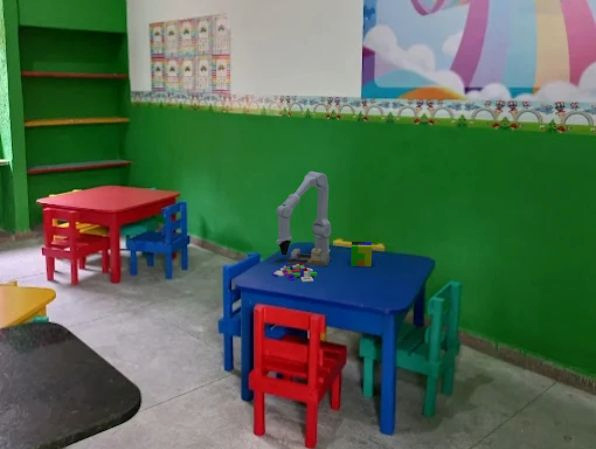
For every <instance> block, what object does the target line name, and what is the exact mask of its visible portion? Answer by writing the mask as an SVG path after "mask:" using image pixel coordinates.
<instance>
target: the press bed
mask: <svg viewBox="0 0 596 449" xmlns="http://www.w3.org/2000/svg"><path fill="white" fill-rule="evenodd" d="M331 258H332V257H331V256H330V252H329V251H326V250H323V252H322V253H321V254H320V261H311V254H306V253H303V254H301V253H300V257H299V258H298V259H291V257H290V258H287V262H286V263H287V264H286V265H291V266H294V265H296V264H299V263H303V264H304V265H305V266H307V267H309V266H312V267H324V268H327V267H328V265H329V263H331V262H330V261H331Z"/></svg>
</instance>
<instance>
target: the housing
mask: <svg viewBox="0 0 596 449" xmlns="http://www.w3.org/2000/svg"><path fill="white" fill-rule="evenodd" d="M321 253H322V249H315V248H312V249H311V254H310V255H311V261H320V254H321Z"/></svg>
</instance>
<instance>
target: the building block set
mask: <svg viewBox="0 0 596 449" xmlns="http://www.w3.org/2000/svg"><path fill="white" fill-rule="evenodd" d="M305 266H306V265H304V264H303V263H299V264H296V265H290V264H283V266H282V267H281V268H280V270H276V269H275V270H273V269H272V271H271V274H272V273H274V274H272V277H275V278H278V277H287V279H288V280H290V282H292V281H293V280H294V281H296V278H297V277H299V278H300V280H301V282H302V283H306V282H314V279H313V277H318V273H317V271H314V270H313V269H312V268H309V267H305Z"/></svg>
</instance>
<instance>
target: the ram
mask: <svg viewBox="0 0 596 449" xmlns="http://www.w3.org/2000/svg"><path fill="white" fill-rule="evenodd" d="M290 254H291V255H290V258H291V259H298V258H299V257H300V254H301V248H294V249H293V250H292V251H291V253H290Z"/></svg>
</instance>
